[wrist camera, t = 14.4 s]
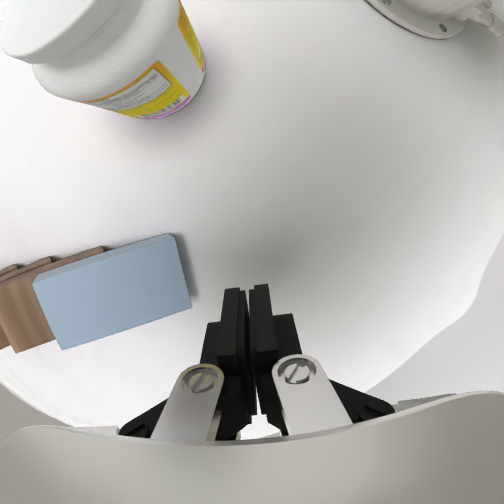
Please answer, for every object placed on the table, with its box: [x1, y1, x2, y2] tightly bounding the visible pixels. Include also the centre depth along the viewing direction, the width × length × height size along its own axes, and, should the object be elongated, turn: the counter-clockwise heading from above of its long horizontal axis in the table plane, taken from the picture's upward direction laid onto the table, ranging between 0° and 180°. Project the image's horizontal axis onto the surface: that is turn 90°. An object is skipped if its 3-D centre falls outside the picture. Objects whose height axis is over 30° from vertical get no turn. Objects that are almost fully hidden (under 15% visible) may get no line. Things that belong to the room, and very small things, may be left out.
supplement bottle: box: [0, 0, 205, 119], centre depth 10 cm, size 7×7×13 cm
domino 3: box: [32, 233, 192, 350], centre depth 17 cm, size 2×5×10 cm
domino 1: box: [0, 257, 52, 350], centre depth 16 cm, size 2×5×10 cm
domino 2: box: [0, 246, 104, 353], centre depth 17 cm, size 2×5×10 cm
